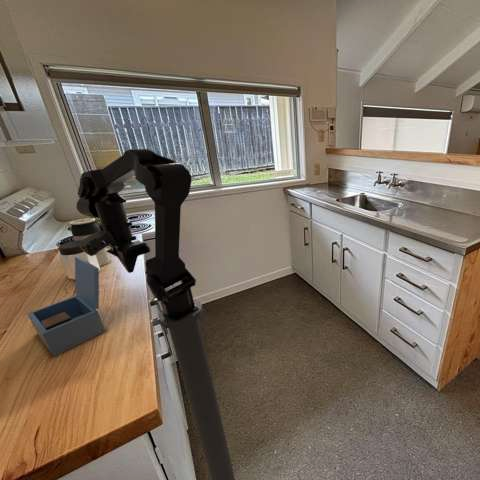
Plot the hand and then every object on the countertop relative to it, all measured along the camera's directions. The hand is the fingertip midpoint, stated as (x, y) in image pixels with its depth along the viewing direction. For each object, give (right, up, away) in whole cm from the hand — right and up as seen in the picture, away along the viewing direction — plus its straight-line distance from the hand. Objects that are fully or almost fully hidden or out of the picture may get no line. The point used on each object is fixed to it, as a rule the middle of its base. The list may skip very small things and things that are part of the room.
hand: (130, 272), depth 73 cm
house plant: (-47, +5, +45) cm, 65 cm away
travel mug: (-35, -1, +29) cm, 45 cm away
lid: (-6, -1, -8) cm, 10 cm away
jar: (-32, -4, +21) cm, 38 cm away
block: (-9, -14, -10) cm, 20 cm away
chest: (-8, -14, -9) cm, 19 cm away
